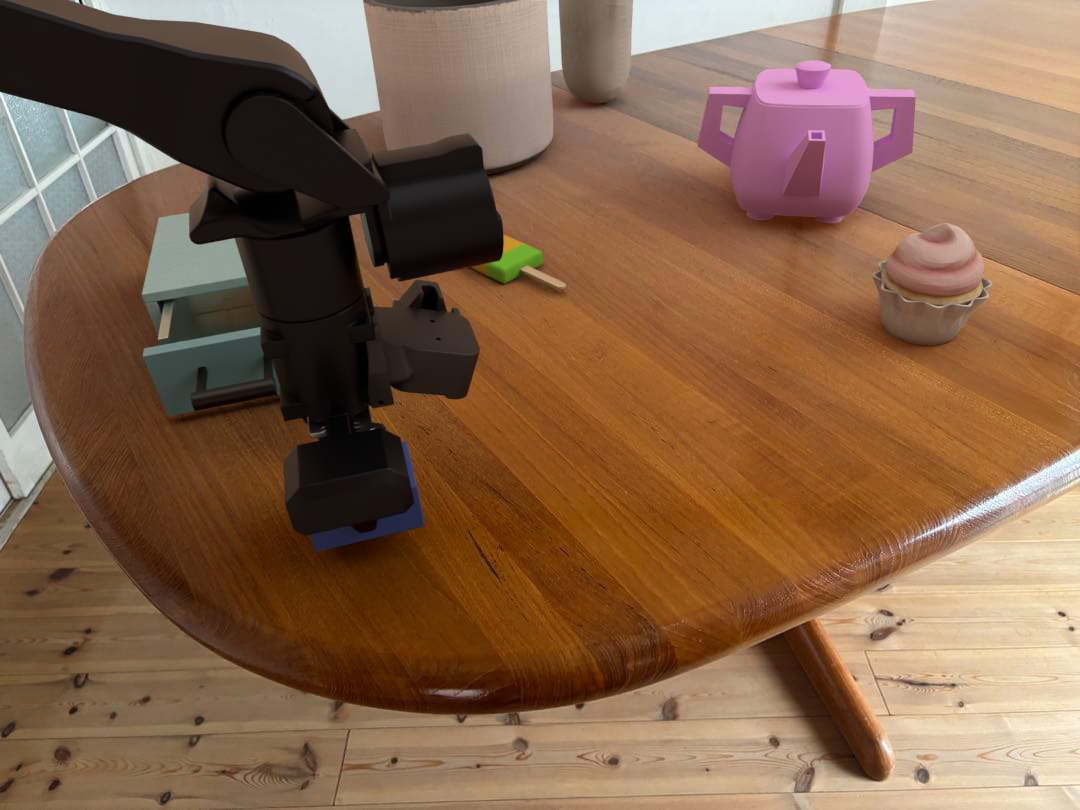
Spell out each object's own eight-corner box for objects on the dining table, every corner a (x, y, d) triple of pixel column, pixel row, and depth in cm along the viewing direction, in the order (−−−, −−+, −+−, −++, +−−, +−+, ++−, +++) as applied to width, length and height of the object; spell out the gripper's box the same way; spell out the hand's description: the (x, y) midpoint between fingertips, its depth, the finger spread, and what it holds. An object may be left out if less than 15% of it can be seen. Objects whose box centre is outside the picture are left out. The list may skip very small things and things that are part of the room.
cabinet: (328, 341, 75) (309, 265, 70) (172, 370, 73) (141, 294, 68) (318, 263, 87) (301, 194, 83) (183, 287, 85) (158, 217, 80)
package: (425, 526, 53) (417, 486, 51) (315, 552, 51) (302, 512, 49) (414, 480, 56) (406, 440, 54) (311, 503, 55) (299, 463, 53)
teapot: (799, 256, 83) (824, 105, 74) (676, 200, 95) (683, 64, 86) (916, 203, 91) (951, 61, 82) (789, 158, 103) (807, 30, 94)
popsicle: (485, 239, 90) (483, 223, 89) (583, 285, 81) (583, 267, 80) (446, 257, 87) (443, 241, 86) (543, 307, 78) (542, 289, 77)
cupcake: (842, 331, 72) (864, 226, 66) (891, 289, 77) (915, 188, 71) (949, 371, 67) (983, 261, 60) (994, 323, 72) (1030, 217, 66)
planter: (584, 157, 107) (581, -12, 94) (421, 197, 100) (394, 19, 87) (512, 110, 123) (501, -40, 111) (367, 141, 116) (338, -15, 104)
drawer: (330, 420, 64) (313, 358, 61) (162, 455, 62) (134, 393, 58) (316, 300, 79) (302, 245, 76) (180, 324, 77) (159, 269, 73)
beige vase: (550, 101, 125) (541, -114, 108) (601, 86, 130) (600, -123, 113) (591, 116, 119) (588, -110, 102) (643, 100, 124) (649, -119, 106)
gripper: (496, 359, 38) (519, 581, 47) (430, 202, 52) (458, 396, 62) (249, 408, 36) (325, 629, 45) (251, 231, 50) (308, 427, 60)
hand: (364, 503), depth 53 cm, fingers closed on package, 4 cm apart
